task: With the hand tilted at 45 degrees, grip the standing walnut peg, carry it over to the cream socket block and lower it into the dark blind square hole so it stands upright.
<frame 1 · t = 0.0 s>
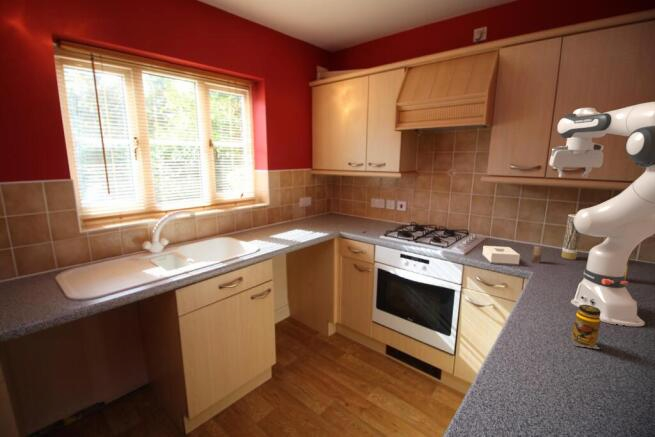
hand: (572, 177, 145), 48 cm above the counter, fingers open, 8 cm apart
socket block: (499, 260, 176), on the counter
peg: (535, 262, 175), on the counter
candy box: (611, 279, 152), on the counter
condiment: (582, 341, 101), on the counter
bark patterned cylinder: (568, 258, 182), on the counter
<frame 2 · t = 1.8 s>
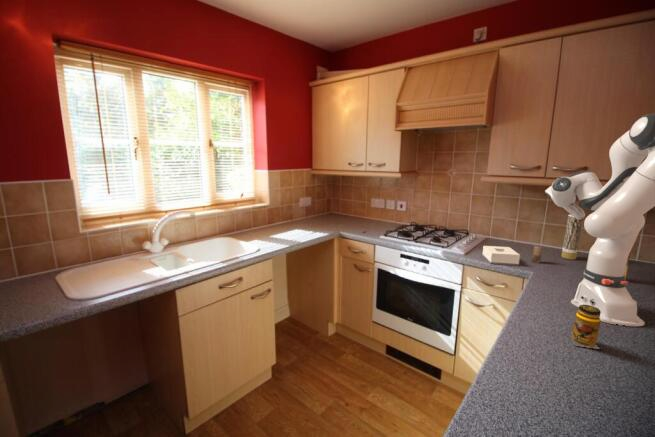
hand: (566, 208, 165), 31 cm above the counter, fingers open, 8 cm apart
nothing on the counter moved.
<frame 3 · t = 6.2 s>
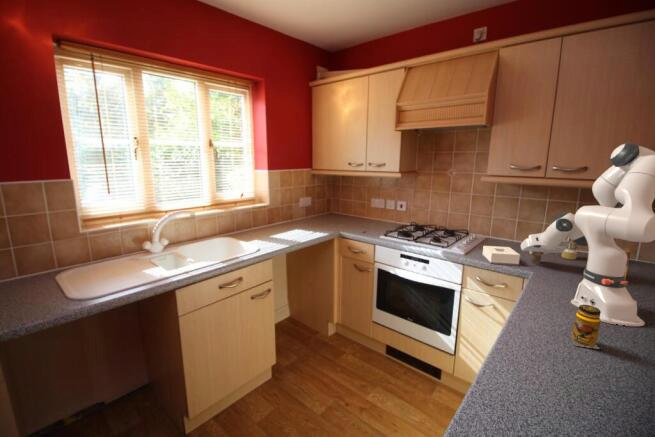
hand: (536, 253, 174), 5 cm above the counter, fingers closed on peg, 4 cm apart
peg: (535, 262, 175), on the counter, touching gripper
everything else where it was.
when the fingers open (8 cm above the counter, at t = 11.6 s): peg drops 2 cm, resting on socket block.
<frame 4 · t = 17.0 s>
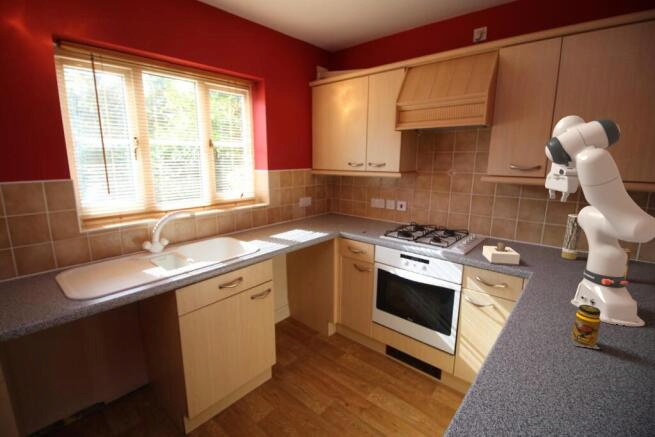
hand: (557, 200, 149), 37 cm above the counter, fingers open, 8 cm apart
peg: (499, 258, 176), point 1 cm above the counter, touching socket block
everything else where it was.
at the end: peg 0.1 cm off-centre on the socket block, point 1.0 cm above the socket block's base; peg tilted 0°; the gripper is holding nothing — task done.
